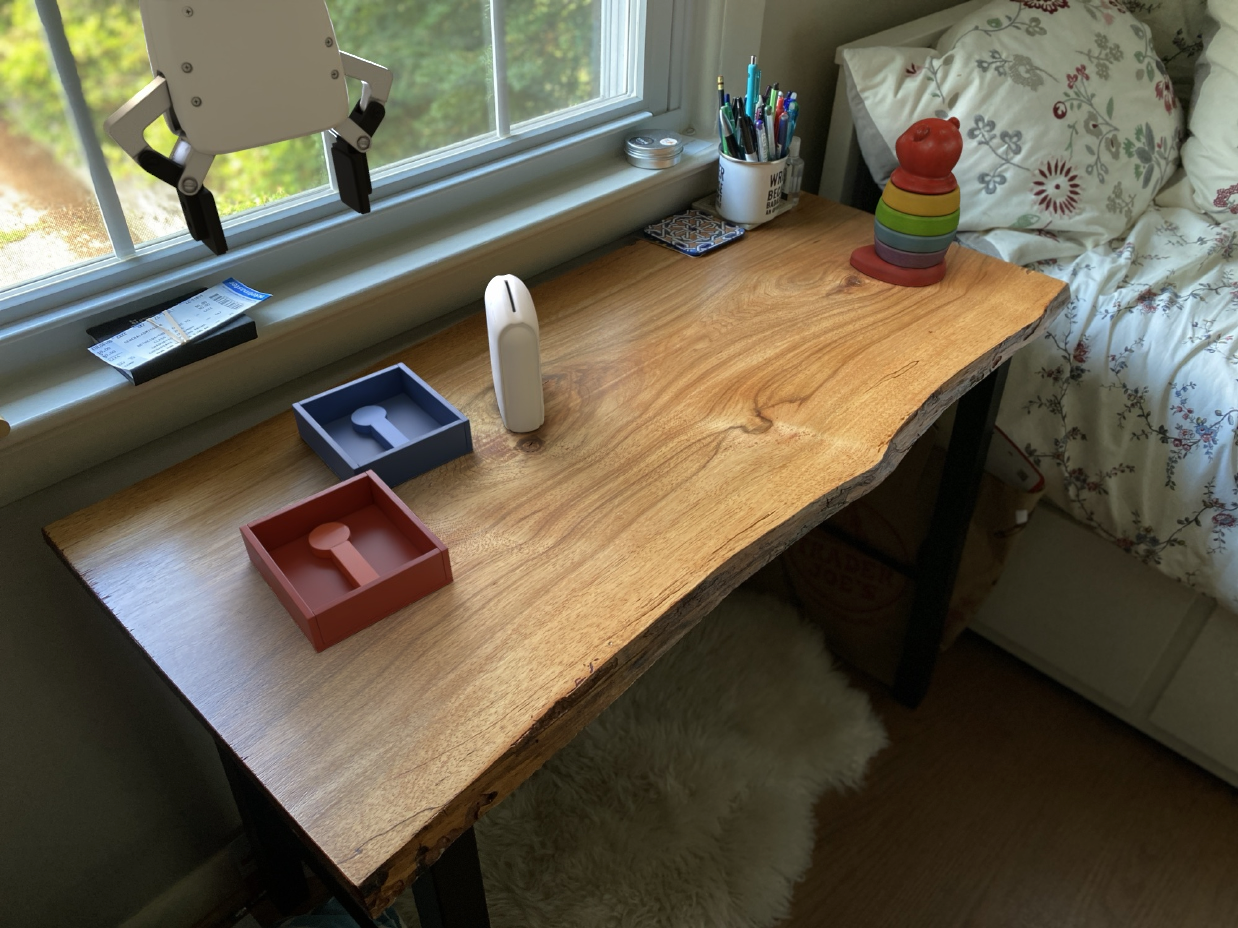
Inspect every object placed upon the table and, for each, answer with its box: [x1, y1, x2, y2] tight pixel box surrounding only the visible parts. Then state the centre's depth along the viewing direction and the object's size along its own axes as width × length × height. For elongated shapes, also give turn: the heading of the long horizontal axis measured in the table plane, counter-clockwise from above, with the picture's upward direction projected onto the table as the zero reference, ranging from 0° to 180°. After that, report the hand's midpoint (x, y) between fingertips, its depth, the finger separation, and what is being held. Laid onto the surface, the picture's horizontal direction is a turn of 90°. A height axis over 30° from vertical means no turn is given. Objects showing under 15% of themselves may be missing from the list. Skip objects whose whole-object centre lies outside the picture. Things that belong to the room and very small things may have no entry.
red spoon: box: [308, 522, 380, 589], centre depth 72 cm, size 9×3×1 cm, turn 39°
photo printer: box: [484, 273, 545, 433], centre depth 86 cm, size 10×4×12 cm, turn 13°
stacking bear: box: [849, 116, 964, 287], centre depth 107 cm, size 11×10×18 cm
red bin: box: [238, 470, 454, 654], centre depth 71 cm, size 11×12×4 cm
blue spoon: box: [351, 406, 410, 451], centre depth 85 cm, size 9×3×1 cm, turn 39°
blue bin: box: [291, 362, 474, 489], centre depth 84 cm, size 11×12×4 cm
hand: (288, 227), depth 60 cm, fingers open, 9 cm apart
